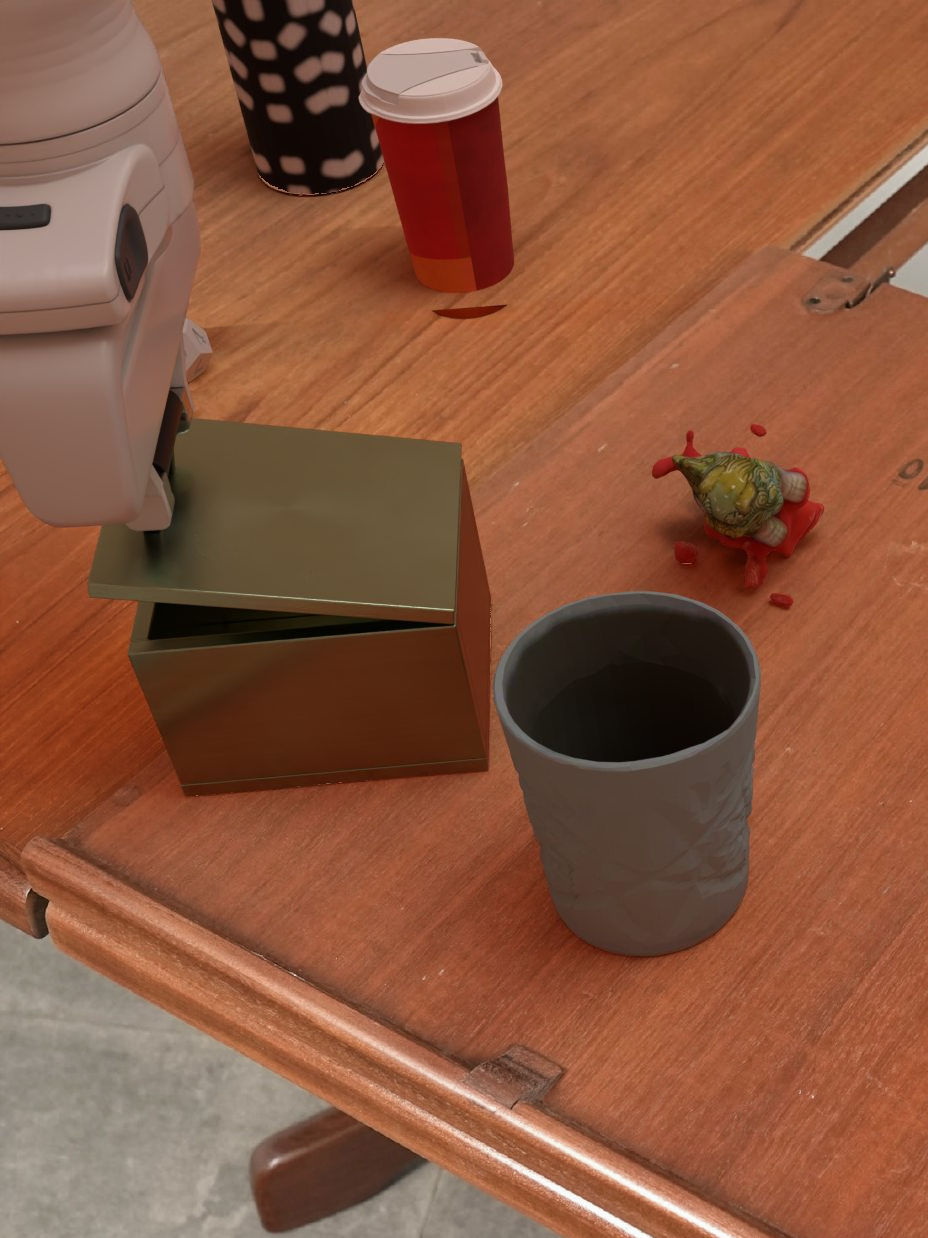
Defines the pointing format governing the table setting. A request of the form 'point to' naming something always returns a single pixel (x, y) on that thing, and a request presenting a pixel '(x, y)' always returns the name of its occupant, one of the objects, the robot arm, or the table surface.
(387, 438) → the lid
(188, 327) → the game die
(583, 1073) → the table surface
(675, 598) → the grey cup
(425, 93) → the paper cup
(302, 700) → the bin
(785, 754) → the table surface
